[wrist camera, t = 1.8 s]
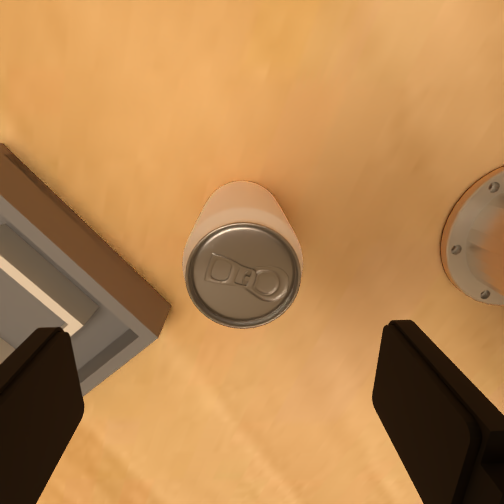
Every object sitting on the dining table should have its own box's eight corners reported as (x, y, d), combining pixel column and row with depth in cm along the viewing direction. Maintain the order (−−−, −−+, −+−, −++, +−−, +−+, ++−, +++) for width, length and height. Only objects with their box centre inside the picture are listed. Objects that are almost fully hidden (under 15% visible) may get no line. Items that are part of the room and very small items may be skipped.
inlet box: (171, 305, 30) (158, 337, 25) (40, 409, 33) (7, 455, 28) (1, 143, 25) (-55, 144, 20) (-132, 285, 28) (-207, 315, 23)
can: (266, 265, 29) (283, 349, 17) (193, 243, 28) (161, 317, 16) (292, 194, 27) (330, 237, 15) (215, 168, 26) (196, 194, 14)
